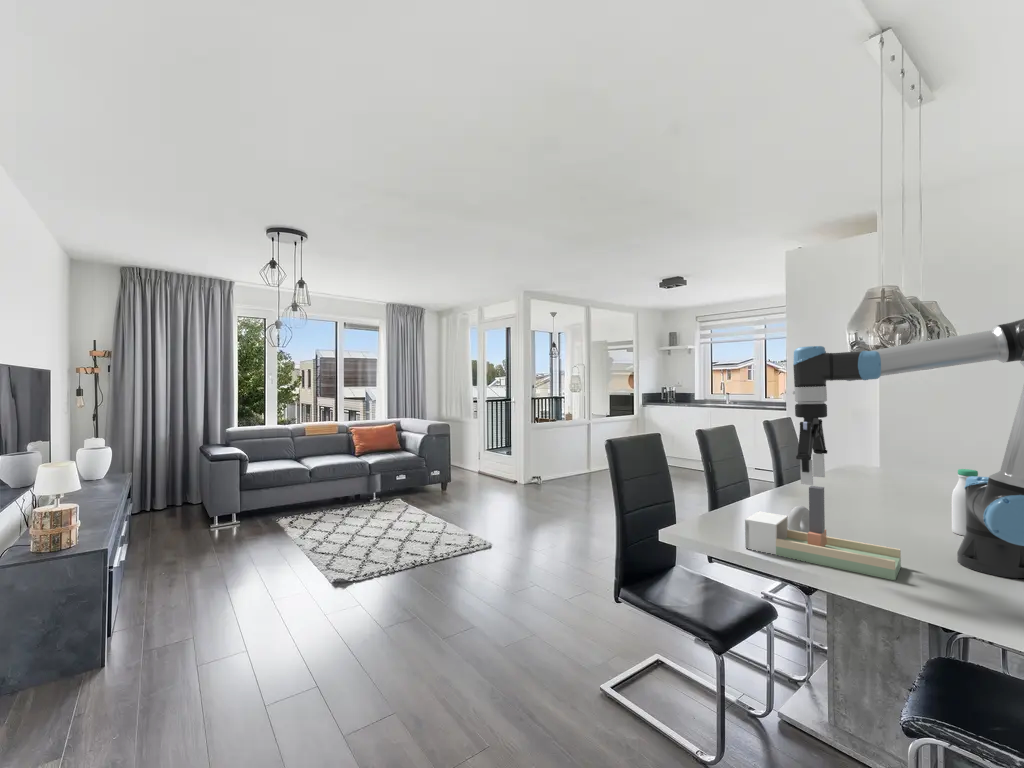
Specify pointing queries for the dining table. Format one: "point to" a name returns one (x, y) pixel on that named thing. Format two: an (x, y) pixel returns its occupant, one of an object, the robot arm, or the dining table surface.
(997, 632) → the dining table surface
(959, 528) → the milk bottle
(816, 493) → the striker
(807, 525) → the donut
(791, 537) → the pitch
